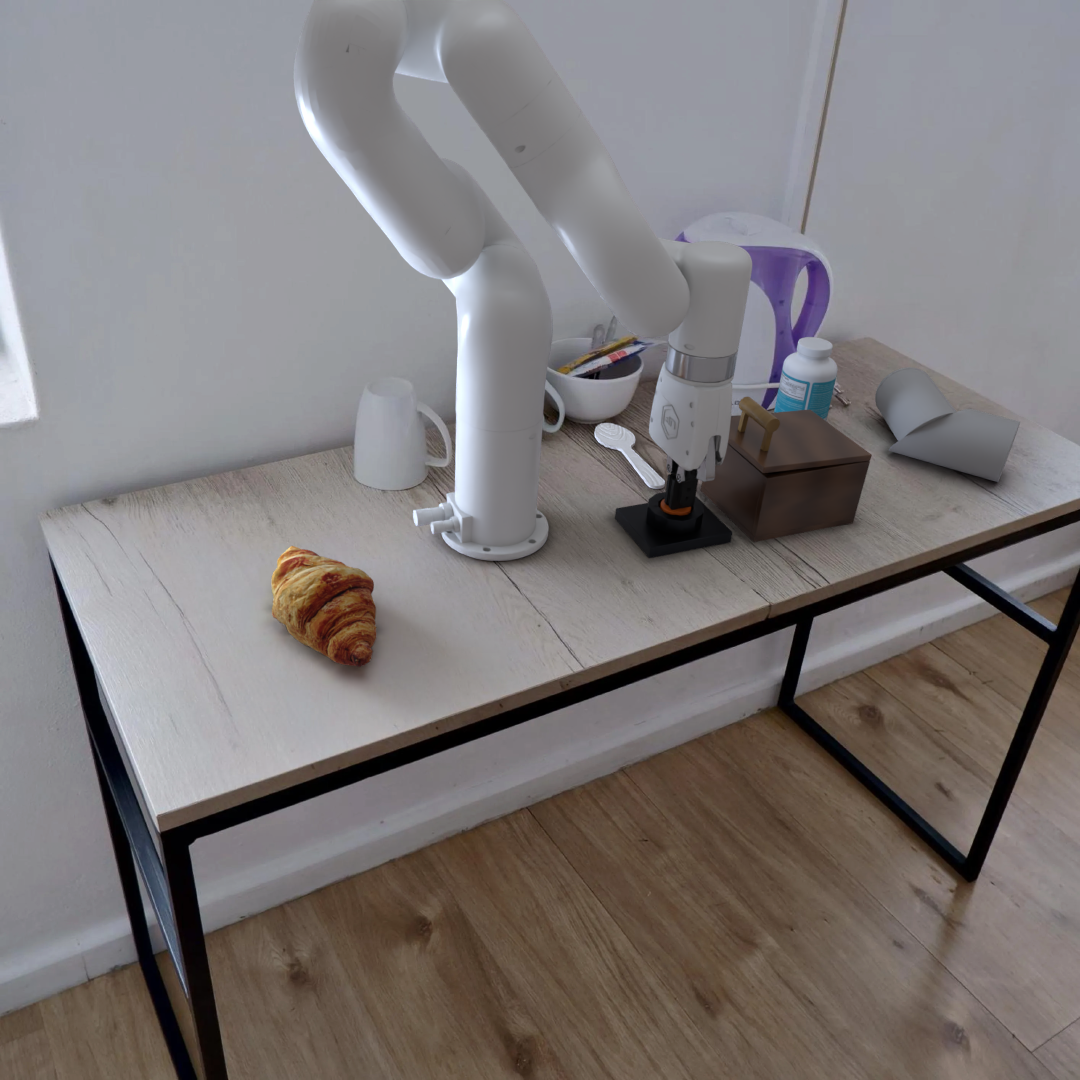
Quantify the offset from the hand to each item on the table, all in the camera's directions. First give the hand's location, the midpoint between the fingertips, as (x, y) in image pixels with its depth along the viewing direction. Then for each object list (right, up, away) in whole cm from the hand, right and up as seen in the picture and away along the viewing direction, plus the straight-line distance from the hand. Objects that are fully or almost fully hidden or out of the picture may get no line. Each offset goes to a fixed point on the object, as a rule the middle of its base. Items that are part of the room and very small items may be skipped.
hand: (679, 504), depth 119 cm
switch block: (-1, -3, +2) cm, 4 cm away
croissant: (-38, -12, -16) cm, 43 cm away
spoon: (-4, +7, +17) cm, 19 cm away
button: (0, -2, +1) cm, 2 cm away
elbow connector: (+39, +9, +25) cm, 47 cm away
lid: (+14, +8, +3) cm, 16 cm away
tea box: (+13, 0, +8) cm, 16 cm away
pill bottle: (+21, +11, +26) cm, 35 cm away
